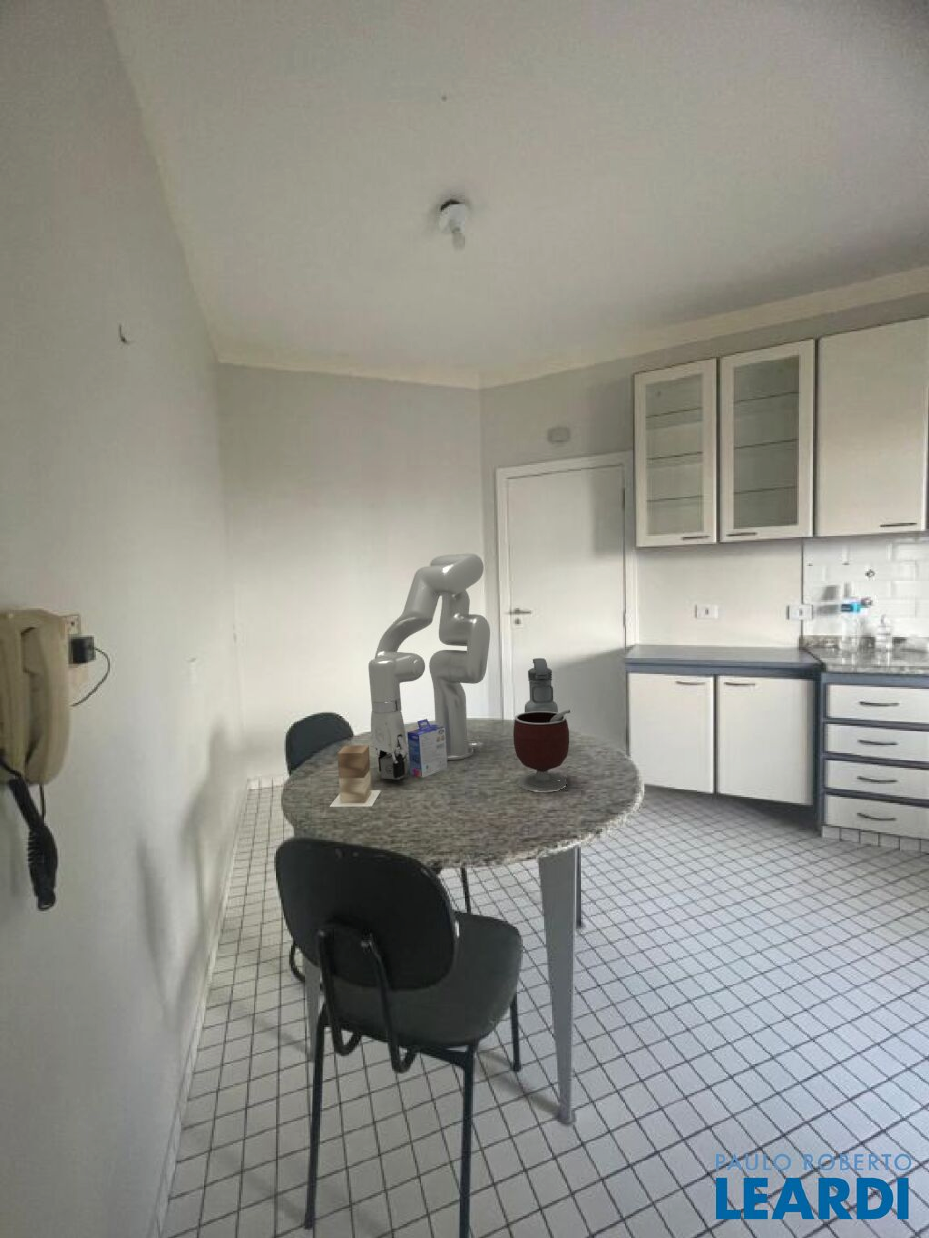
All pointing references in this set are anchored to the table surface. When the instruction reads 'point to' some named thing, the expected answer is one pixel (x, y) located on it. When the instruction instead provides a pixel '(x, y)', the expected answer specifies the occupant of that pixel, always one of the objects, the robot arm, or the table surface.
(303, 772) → the table surface
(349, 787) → the beech block
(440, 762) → the ink cartridge box
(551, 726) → the mate gourd
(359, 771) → the walnut block
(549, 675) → the water bottle
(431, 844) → the table surface
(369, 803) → the stone coaster
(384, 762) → the grey marked cube
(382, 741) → the robot arm
